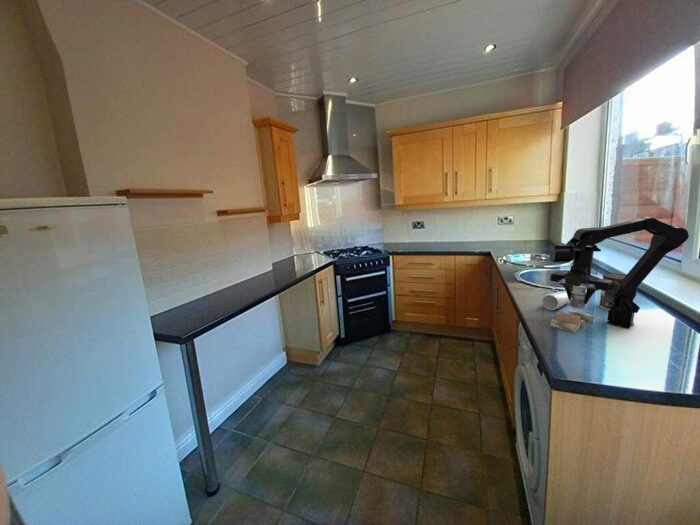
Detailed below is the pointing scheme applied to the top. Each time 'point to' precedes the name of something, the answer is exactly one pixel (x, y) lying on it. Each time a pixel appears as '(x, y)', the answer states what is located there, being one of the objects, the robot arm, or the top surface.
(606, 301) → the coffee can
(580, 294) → the pill bottle
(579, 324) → the lower offcut
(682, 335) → the top surface
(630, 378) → the top surface
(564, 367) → the top surface
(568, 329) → the offcut rack
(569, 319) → the upper offcut
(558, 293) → the drinking glass
